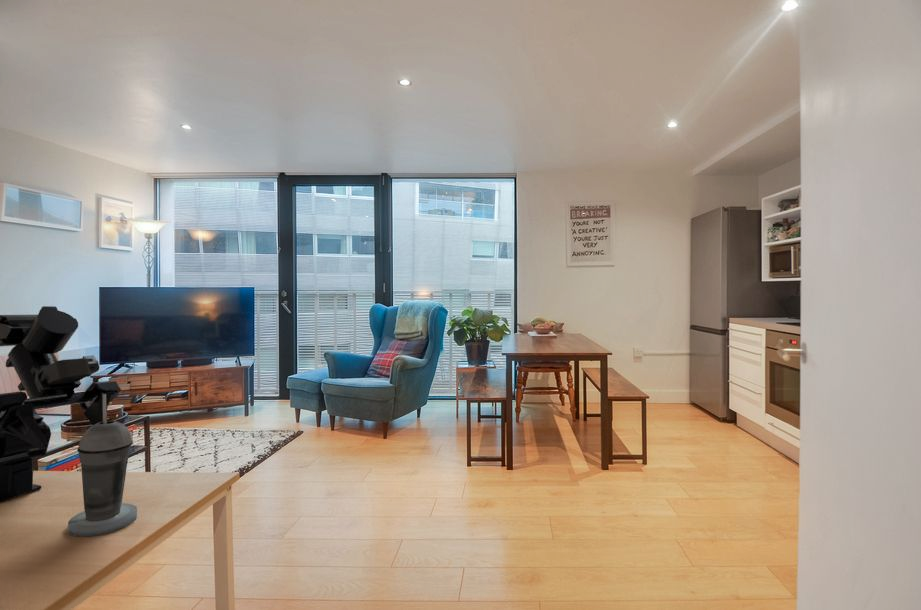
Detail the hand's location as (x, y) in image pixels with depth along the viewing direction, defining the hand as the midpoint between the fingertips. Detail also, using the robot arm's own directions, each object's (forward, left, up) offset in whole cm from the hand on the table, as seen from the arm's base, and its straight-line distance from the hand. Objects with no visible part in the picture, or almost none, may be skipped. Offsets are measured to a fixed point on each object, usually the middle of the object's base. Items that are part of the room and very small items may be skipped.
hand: (76, 440), depth 77 cm
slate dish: (+8, -1, -13) cm, 15 cm away
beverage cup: (+8, -1, -11) cm, 14 cm away
